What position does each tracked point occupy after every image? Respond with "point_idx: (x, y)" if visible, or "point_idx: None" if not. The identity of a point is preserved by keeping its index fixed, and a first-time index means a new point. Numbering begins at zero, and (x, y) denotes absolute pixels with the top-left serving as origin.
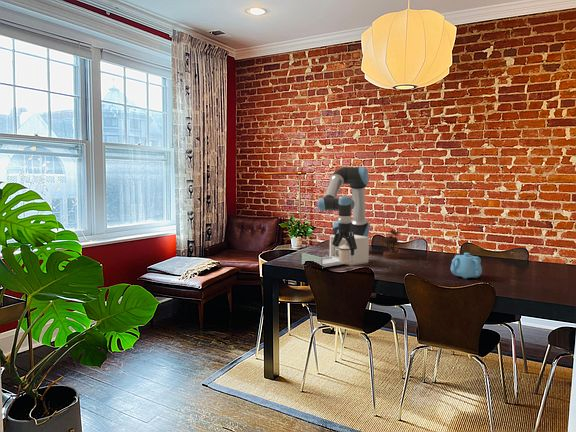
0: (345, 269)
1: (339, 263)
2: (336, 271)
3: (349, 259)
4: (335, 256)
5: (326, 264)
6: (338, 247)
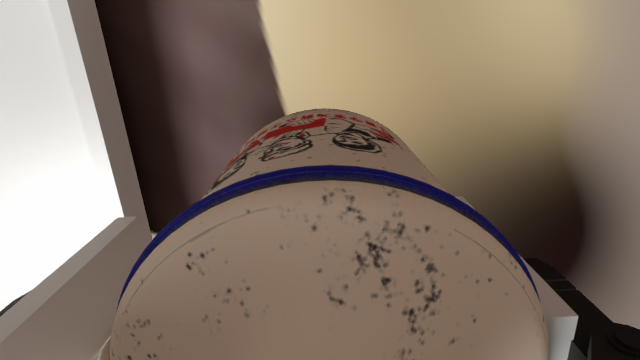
0: None
1: (116, 124)
2: None
3: None
4: None
5: None
6: (27, 355)
